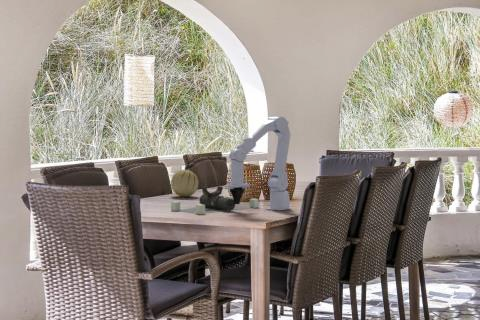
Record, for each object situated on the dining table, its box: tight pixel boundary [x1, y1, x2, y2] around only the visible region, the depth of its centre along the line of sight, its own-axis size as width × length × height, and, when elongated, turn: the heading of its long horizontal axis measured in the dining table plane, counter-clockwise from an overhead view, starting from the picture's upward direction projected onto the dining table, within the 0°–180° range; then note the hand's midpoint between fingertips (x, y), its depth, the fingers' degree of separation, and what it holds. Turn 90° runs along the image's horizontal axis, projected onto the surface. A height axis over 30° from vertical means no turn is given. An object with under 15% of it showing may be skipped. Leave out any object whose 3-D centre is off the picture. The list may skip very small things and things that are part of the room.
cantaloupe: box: [170, 168, 199, 198], centre depth 441 cm, size 15×15×15 cm
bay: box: [170, 195, 259, 215], centre depth 389 cm, size 40×19×4 cm, turn 138°
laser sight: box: [199, 186, 236, 212], centre depth 388 cm, size 10×22×10 cm, turn 36°
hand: (237, 204), depth 380 cm, fingers closed
